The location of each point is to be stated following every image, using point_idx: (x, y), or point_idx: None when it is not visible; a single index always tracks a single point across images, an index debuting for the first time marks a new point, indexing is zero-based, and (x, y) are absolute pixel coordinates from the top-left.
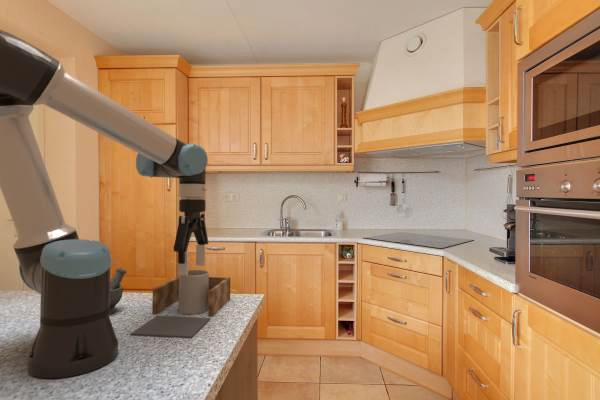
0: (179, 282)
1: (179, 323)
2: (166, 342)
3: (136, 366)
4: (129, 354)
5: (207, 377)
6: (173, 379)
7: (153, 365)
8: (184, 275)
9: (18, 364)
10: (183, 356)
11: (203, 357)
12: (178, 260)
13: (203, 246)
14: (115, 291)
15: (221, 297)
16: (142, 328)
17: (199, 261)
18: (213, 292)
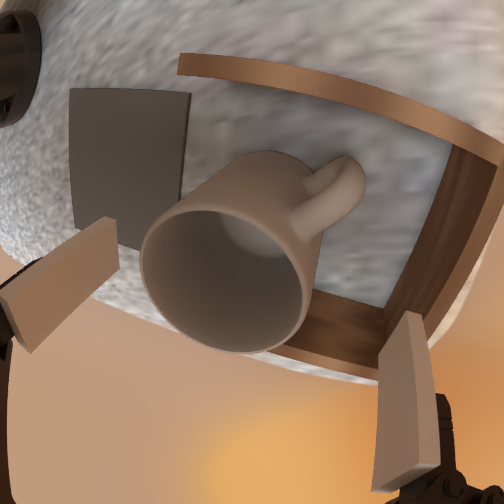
0: (188, 194)
1: (128, 185)
2: (56, 182)
3: (7, 166)
4: (22, 137)
5: (16, 254)
6: (4, 220)
7: (12, 187)
8: (142, 243)
9: (9, 4)
10: (33, 222)
11: (39, 249)
12: (26, 267)
13: (375, 478)
14: None
15: None
16: (93, 100)
17: (396, 352)
18: None
